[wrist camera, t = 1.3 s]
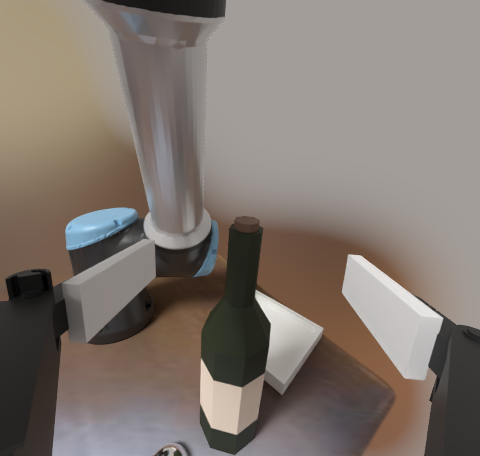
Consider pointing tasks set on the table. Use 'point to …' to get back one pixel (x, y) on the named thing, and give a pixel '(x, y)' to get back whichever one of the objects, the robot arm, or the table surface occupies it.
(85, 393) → the table surface
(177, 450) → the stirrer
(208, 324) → the wine bottle
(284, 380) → the serving tray
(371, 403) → the table surface
